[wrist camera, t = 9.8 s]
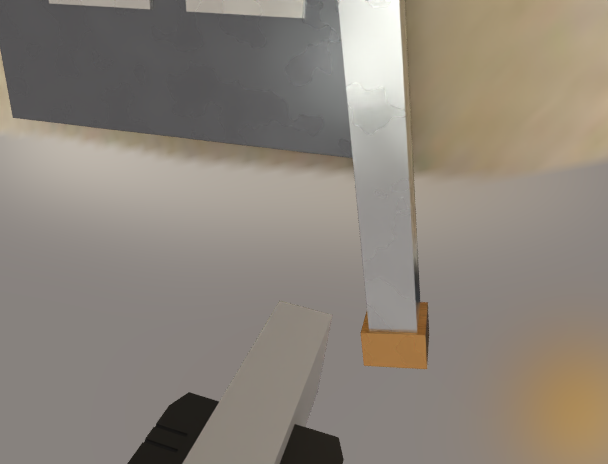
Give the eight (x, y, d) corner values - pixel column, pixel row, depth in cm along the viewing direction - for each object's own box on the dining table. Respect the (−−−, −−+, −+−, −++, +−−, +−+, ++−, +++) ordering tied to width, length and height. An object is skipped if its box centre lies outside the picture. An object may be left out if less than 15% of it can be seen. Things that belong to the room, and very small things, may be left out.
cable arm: (327, -107, 21) (306, -129, 18) (413, -126, 20) (407, -153, 17) (368, 331, 29) (359, 369, 26) (432, 333, 28) (430, 373, 25)
